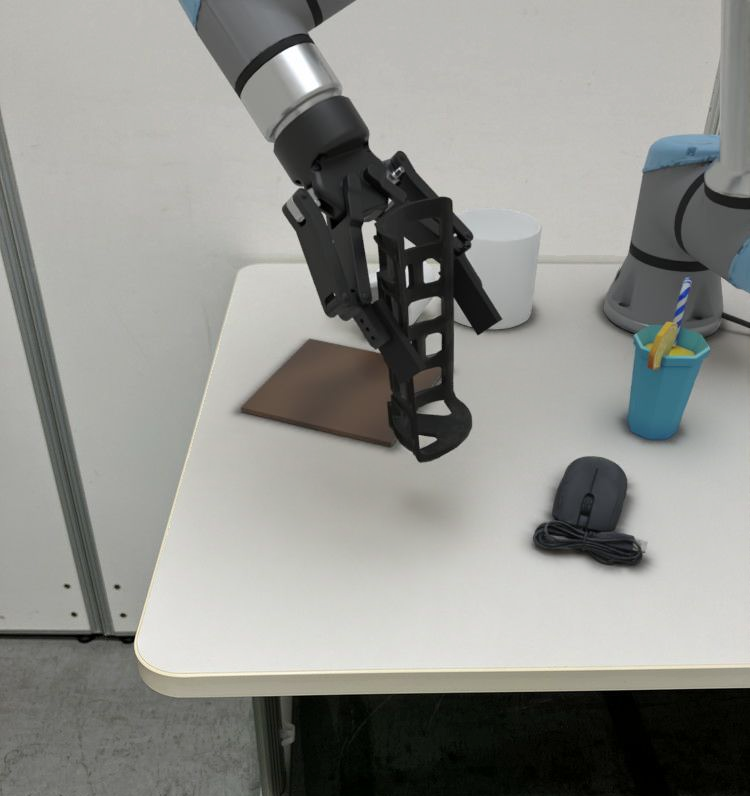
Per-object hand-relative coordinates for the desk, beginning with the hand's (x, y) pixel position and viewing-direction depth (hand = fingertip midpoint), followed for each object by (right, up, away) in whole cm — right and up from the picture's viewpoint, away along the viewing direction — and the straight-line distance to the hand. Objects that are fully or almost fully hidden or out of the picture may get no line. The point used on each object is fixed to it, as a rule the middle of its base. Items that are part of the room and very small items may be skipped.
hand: (453, 350), depth 77 cm
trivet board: (-10, 0, +30) cm, 32 cm away
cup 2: (+24, -4, +25) cm, 35 cm away
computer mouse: (+14, -14, +12) cm, 23 cm away
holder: (-2, -6, +7) cm, 10 cm away
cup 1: (+9, +13, +48) cm, 50 cm away
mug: (-6, +11, +44) cm, 46 cm away
